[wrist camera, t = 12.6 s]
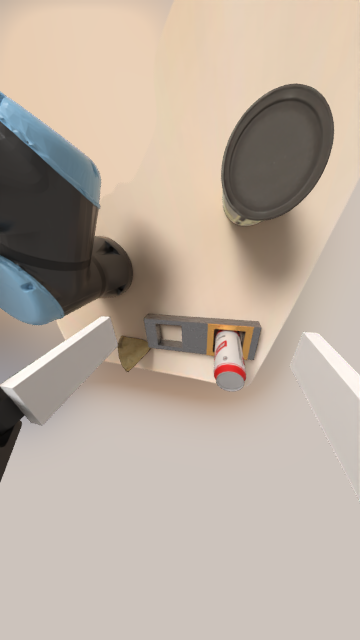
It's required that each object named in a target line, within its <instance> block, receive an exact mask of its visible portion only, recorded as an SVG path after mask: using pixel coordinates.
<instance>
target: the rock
mask: <svg viewBox="0 0 360 640" xmlns="http://www.w3.org/2000/svg"><path fill="white" fill-rule="evenodd" d="M150 349H151V348H150V347H148V342H146V341H144V340H141V339H136V338H127V337H124V336H121V338H120V339H119V343H118V353H119V359H120V361H121V364H122V366H123V368H124V369H125V370H126V371H127V372H129V371H130V370H131V369H132V368H133V367H134V366H135V365H136V364H137V363H138V362H139V361H140V359H142V358H143V356H144V355H146V354H147V352H148V351H149V350H150Z"/></svg>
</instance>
